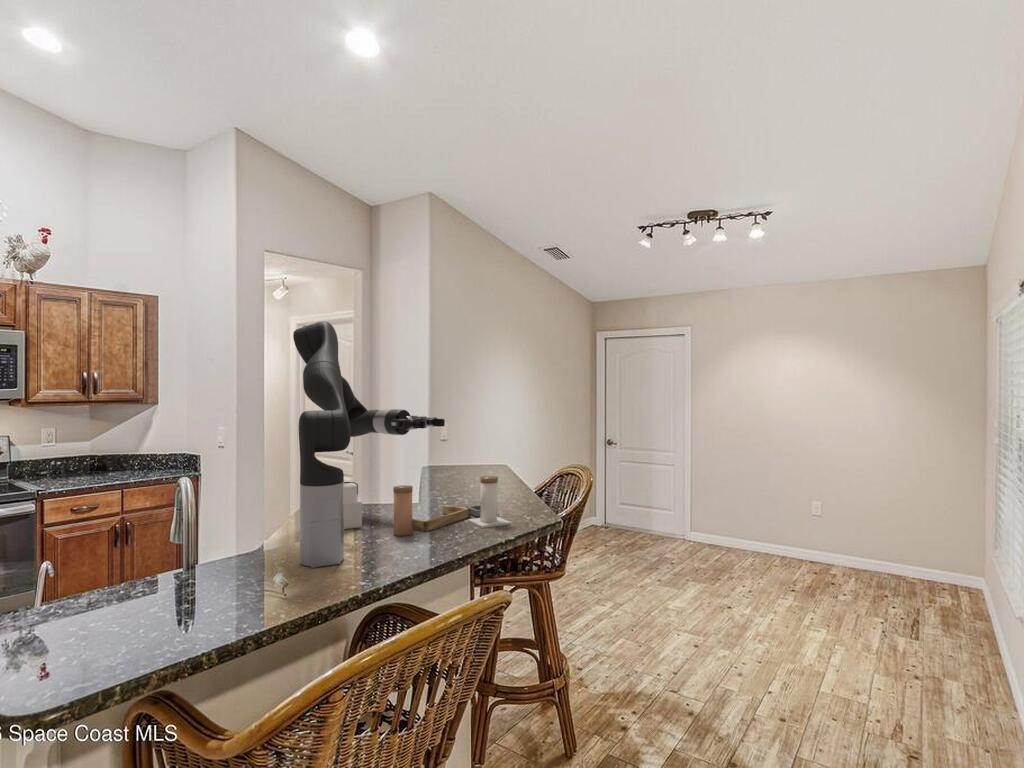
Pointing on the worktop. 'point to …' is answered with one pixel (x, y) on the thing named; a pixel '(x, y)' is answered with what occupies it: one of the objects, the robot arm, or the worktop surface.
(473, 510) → the hole dish
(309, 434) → the robot arm
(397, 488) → the terracotta jar
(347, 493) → the medicine bottle
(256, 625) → the worktop surface
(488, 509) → the spice jar
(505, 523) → the white square tile
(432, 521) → the wooden tray
